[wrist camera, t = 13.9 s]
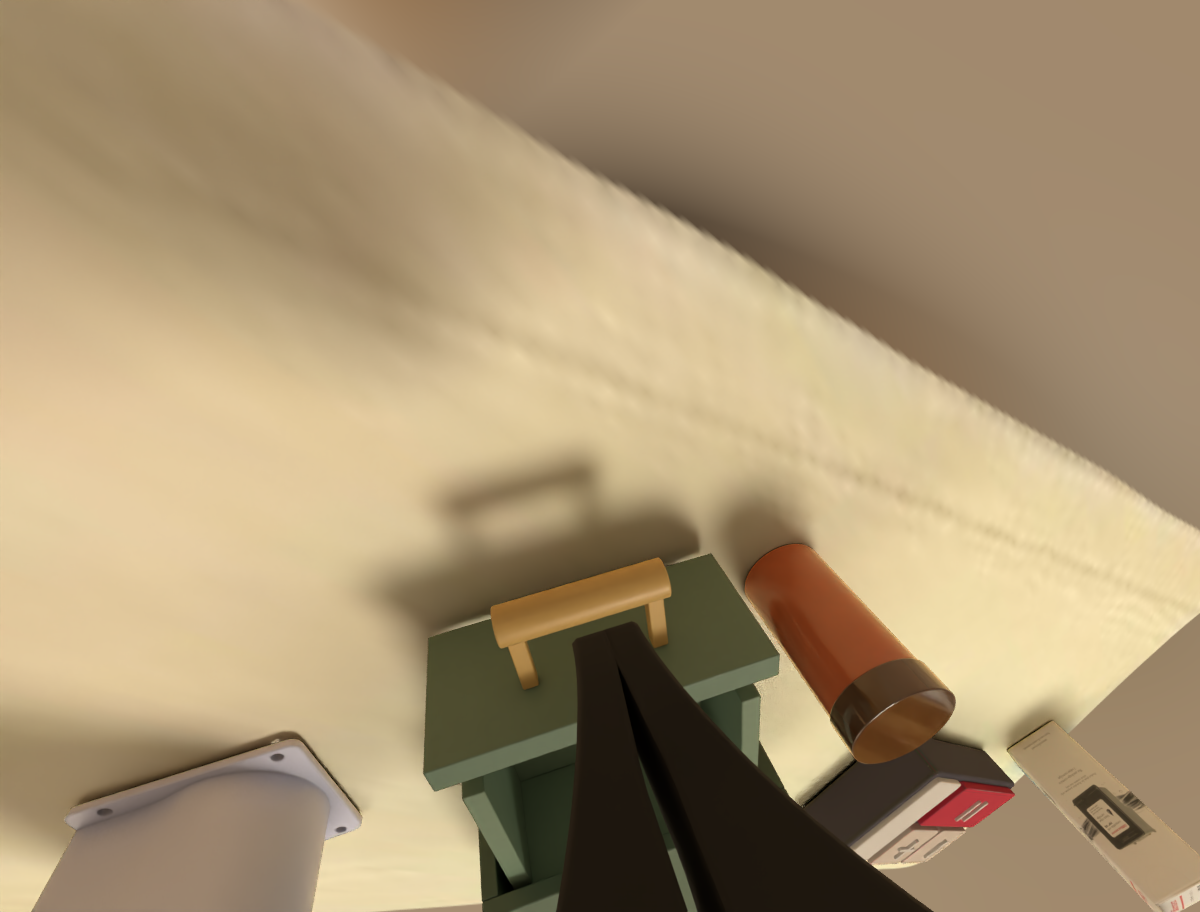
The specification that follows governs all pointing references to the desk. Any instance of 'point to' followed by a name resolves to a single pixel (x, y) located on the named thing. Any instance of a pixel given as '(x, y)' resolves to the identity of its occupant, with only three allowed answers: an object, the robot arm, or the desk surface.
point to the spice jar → (847, 656)
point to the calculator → (912, 802)
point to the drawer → (549, 694)
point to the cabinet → (537, 902)
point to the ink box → (1112, 819)
